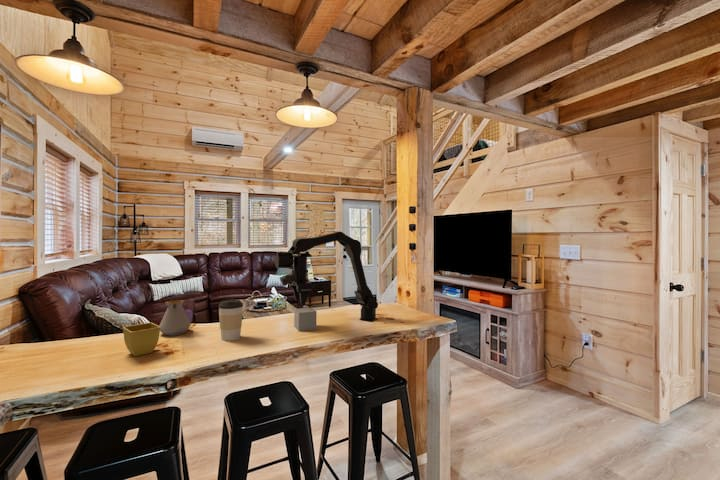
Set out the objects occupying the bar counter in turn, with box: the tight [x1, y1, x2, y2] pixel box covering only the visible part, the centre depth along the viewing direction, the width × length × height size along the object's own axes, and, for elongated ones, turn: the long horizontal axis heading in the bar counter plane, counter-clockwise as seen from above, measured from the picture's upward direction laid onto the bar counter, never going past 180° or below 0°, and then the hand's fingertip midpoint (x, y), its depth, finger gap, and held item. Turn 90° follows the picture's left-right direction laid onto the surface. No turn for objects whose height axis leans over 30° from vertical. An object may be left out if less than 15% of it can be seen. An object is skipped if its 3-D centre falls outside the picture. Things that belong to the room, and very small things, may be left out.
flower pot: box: [122, 322, 161, 357], centre depth 112 cm, size 9×9×9 cm
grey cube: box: [293, 307, 318, 332], centre depth 144 cm, size 8×8×8 cm
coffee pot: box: [158, 299, 192, 337], centre depth 130 cm, size 21×12×15 cm, turn 29°
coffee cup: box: [218, 298, 244, 342], centre depth 129 cm, size 9×9×15 cm
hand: (299, 303), depth 143 cm, fingers open, 9 cm apart
